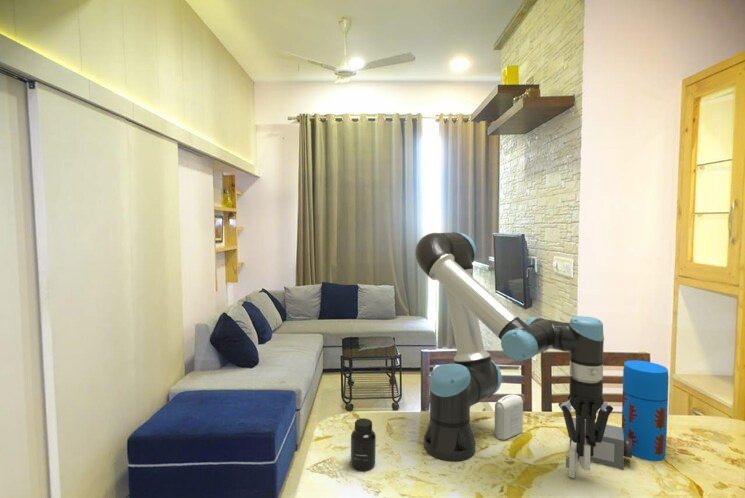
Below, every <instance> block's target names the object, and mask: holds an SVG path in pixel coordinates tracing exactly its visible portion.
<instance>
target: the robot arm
mask: <svg viewBox="0 0 745 498" xmlns="http://www.w3.org/2000/svg"><path fill="white" fill-rule="evenodd" d="M414 254H415V260H416V262H417V264H418V266H419V267H420V269H421V271H423V273H425V275H426V276H427V277H429V278H430V279H431V280H433V281H436V280H437V282H438V283H440V284H441V285H442V286H443V287H444V290H445V295H446V301H447V305H448V310H449V316H450V321H451V327H452V332H453V336H454V342H455V348H456V355H455V356H454V358H453V362H454V363H448V364H447V363H445V364H444V363H443V364H440V365H438V366H437V367H435V368H433V369H432V371H431V373H430V376H429V377H430V378H429V382H428V383H429V386H428V387H429V420H428V423H427V427H426V431H425V433H424V435H423V447H424V449H425V452H427V453H428V454H429V455H431V456H432V457H435V458H438V459H441V460H444V461H447V462H448V461H449V462H450V461H451V462H458V461H465V460H468V459H470V458H472V457H473V456H474V455H475V453H476V450H477V449H476V447H477V443H476V439H475V434H474V432H473V430H472V426H471V423H470V422H471V421H470V420H471V415H470V414H471V407H472V406H474V405H476V404H478V403H480V402H482V401H484V400H486V399H489V398H491V397H492V396H493V395H494V394H496V392H498V390H500V387H501V385H502V381H503V379H502V378H503V377H502V371H501V369H500V367H499V365H498V364H496V362H495V361H494V360H493V359H492V356H491V353H489V352H488V351H487V350H485V346H484V341H483V336H482V331H481V327H480V322H481V323H482V324H484V326H486V328H488V329H489V330H490V332H492V333H493V334H494V335H495V336H496V337H497V338H498V339H499V340H500V345H501V348H502V352H503V354H504V355H505V356H506V357H507V358H508V359H510V360H512V361H517V362H521V361H524V360H525V361H526V360H529V359H531V358H533V357H535V356H537V355H538V354H541V353H544V352H546V351H547V350H550V349H552V350H557V351H562V352H568V353H569V375H570V377H569V395H568V397H567V400H566V401H565V402H559V403H558V407H559V408H560V410H561V411H562V415H563V418H564V423H565V426H566V431H567V435H568V438H569V440H570V439H571V440H572V441H573V442H574V443H576V452H577V454H578V455H579V456H580V459H579V464H578V465H579V466H580V467H581V468H582V469H583V471H585V472H586V471H587V472H588V471H589V472H590V471H591V462H590V456H593V455H594V447H595V446H596V444H595V443H597V442H598V443H601V442H602V439H603V435H604V432H605V428H606V424H607V425H608V419H609V416H610V414H611V413H612V412H613V410H614V408H613V406H611V405H610V404H609V403H608V402H605V400H604V398H603V391H604V390H603V389H604V387H603V386H604V382H603V381H602V380H603V379H604V343H605V336H604V324H603V321H602V320H600V319H599V318H596V317H593V316H583V315H577V316H572V317H571V318H570V320H569V322H564V321H559V320H552V319H546V318H543V317H528V318H527V319H526V321H523V319H521V318H520V317H519V316H517V314H515V313H514V312H513V311H512V310H511V309H509V307H508V306H506V304H504V303H503V302H502V301H500V300H499V299H498V298H497V297H496V296H495V295H494V294H492V293H491V292H490V291H489V290H488V289H487V288H485V287H484V285H482V284H481V283H480V282H479V281H478V280H477V279H475V278H474V276H472V275H471V274H472V272H473V271H474V266H473V263H474V262H475V259H476V257H477V247H476V244H475V242H474V240H473V239H472V238H471V237H470V236H468V235H467V234H465V233H463V232H457V231H453V232H452V231H451V232H432V233H427V234H425V235H424V236H422V238H420V239H419V240H418V242H417V244H416V248H415V253H414ZM479 321H480V322H479ZM571 407H572V408H573V410H574V414H575V418H576V431H575V427H574V423H573V419H572V418H573V416H572V413H571V412H572V408H571ZM585 420H586V426H585ZM595 422H596V424H595ZM585 439H586V441H585Z"/></svg>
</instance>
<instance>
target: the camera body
mask: <svg viewBox="0 0 745 498" xmlns="http://www.w3.org/2000/svg"><path fill="white" fill-rule="evenodd" d="M572 419H573V423H574V427H575V431H576V417H572ZM595 424H596V421H595ZM585 426H586V419H585ZM585 441H586V439H585ZM571 442H572V440H571V439H570V438H569V447H570V446H571ZM595 444H596V446H595V447H594V455H593V456H590V463H595V464H598V465H602V466H606V467H610V468H614V469H618V470H622V471H623V470H624V457H626V458H629V459H632V458H633V455H632V438H627V437H624V435H623V428H622V426H621V427H619V426H616V425H612V424H611V425H610V424H608V423H607V424H606V428H605V432H604V435H603V439H602V442H601V443H598V442H597V443H595ZM578 460H580V456H579V455H578Z"/></svg>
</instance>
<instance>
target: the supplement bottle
mask: <svg viewBox="0 0 745 498" xmlns="http://www.w3.org/2000/svg"><path fill="white" fill-rule="evenodd" d="M376 436H377V435H376V433H375V431H374V430H373V421H372V420H371V419H369V418H363V417H362V418H357V419H356V420H355V421H354V429H353V431H352V432H351V434H350V465H351V467H352V468H353V470H356V471H359V472H366V471H369V470H372V469H373V468H374V467H375V465H376V447H377V445H376V441H377V439H376Z"/></svg>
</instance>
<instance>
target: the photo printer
mask: <svg viewBox="0 0 745 498" xmlns="http://www.w3.org/2000/svg"><path fill="white" fill-rule="evenodd" d="M523 400H524V399H523V398H522V397H521V396H520V395H518V394H508V395H505V396H501V398H500V399H498V400H497V401H496V402H495V404H494V435H495V437H496V438H497V439H499V440H502V441H503V440H509V439H510V438H513V437H515V436H517V435H519V434H521V433H523V430H524V429H523V425H524V424H523V423H524V422H523V419H524V417H523V416H524V415H523V414H524V402H523Z"/></svg>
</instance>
